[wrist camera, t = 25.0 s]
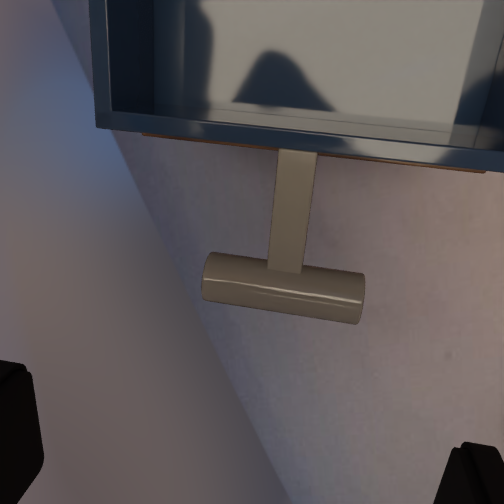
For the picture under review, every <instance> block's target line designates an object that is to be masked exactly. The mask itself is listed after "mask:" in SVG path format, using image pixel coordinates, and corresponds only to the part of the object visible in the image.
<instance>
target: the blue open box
mask: <svg viewBox="0 0 504 504" xmlns="http://www.w3.org/2000/svg"><path fill="white" fill-rule="evenodd" d="M89 17H90V34H91V51H92V69H93V86H94V102H95V120H96V127H97V128H102V129H111V130H121V131H130V132H139V133H148V134H157V135H166V136H175V137H184V138H193V139H202V140H211V141H221V142H230V143H239V144H248V145H257V146H266V147H275V148H279V150H278V160H277V170H276V180H275V190H274V200H273V210H272V220H271V230H270V240H269V250H268V259H261V258H254V257H247V256H240V255H233V254H226V253H219V252H211V253H210V254H209V255H208V257H207V260H206V262H205V266H204V270H203V275H202V285H201V291H202V297H203V299H204V300H205V301H210V302H217V303H223V304H229V305H235V306H242V307H248V308H254V309H260V310H267V311H273V312H279V313H285V314H292V315H298V316H304V317H310V318H317V319H323V320H329V321H335V322H342V323H348V324H354V325H356V324H358V323H359V320H360V318H361V314H362V309H363V303H364V295H365V275H364V274H363V273H357V272H351V271H344V270H337V269H330V268H323V267H316V266H309V265H303V261H304V253H305V246H306V239H307V231H308V224H309V216H310V209H311V202H312V194H313V187H314V180H315V172H316V165H317V158H318V152H320V153H329V154H338V155H347V156H356V157H365V158H374V159H383V160H392V161H401V162H411V163H420V164H429V165H438V166H447V167H456V168H465V169H474V170H483V171H492V172H501V173H504V0H89Z"/></svg>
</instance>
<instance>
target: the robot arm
mask: <svg viewBox="0 0 504 504" xmlns="http://www.w3.org/2000/svg"><path fill="white" fill-rule="evenodd" d="M43 461H44V451H43V445H42V438H41V432H40V425H39V419H38V412H37V406H36V399H35V392H34V386H33V379H32V375H31V373H30V372H28V371H27V369H26V366H25V365H24V364H20V363H15V362H8V361H3V360H0V504H17V503H18V501H19V500H20V499H21V497H22V496H23V495H24V493H25V492H26V490H27V489H28V488H29V486H30V485H31V483H32V482H33V481H34V479H35V478H36V476H37V475H38V473H39V472H40V470H41V468H42V465H43ZM433 504H504V462H503V460H502V457H501V455H500V453H499V451H498V450H497V448H495V447H494V446H488V445H482V444H476V443H471V442H464V443H462V445H461V447H460V448H456V447H454V448H453V449H452V451H451V453H450V456H449V459H448V462H447V465H446V468H445V471H444V474H443V477H442V479H441V482H440V485H439V488H438V491H437V494H436V497H435V500H434V503H433Z"/></svg>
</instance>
